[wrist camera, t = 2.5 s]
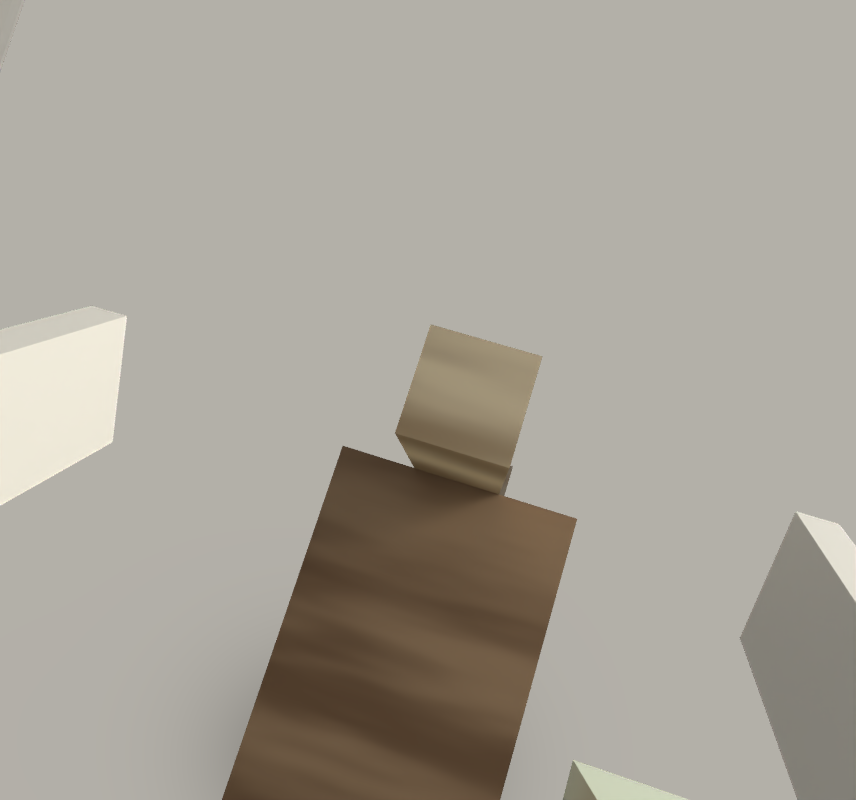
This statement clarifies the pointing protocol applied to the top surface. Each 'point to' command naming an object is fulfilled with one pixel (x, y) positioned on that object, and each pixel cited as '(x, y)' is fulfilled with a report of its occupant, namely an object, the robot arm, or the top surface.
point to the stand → (404, 642)
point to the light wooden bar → (467, 408)
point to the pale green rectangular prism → (608, 786)
